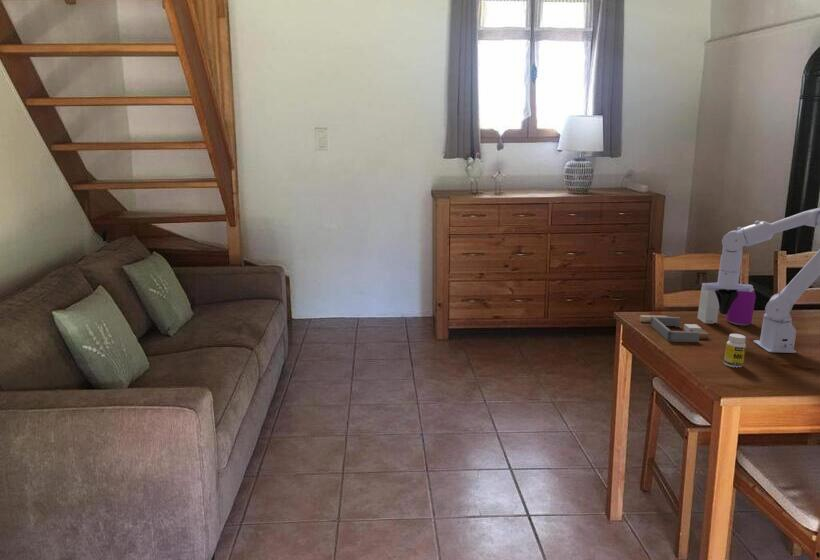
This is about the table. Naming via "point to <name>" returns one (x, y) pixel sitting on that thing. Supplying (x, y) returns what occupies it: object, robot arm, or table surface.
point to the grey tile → (691, 327)
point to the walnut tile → (701, 333)
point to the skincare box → (708, 307)
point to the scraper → (648, 317)
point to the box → (673, 336)
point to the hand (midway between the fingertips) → (723, 313)
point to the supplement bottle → (735, 350)
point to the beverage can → (742, 308)
